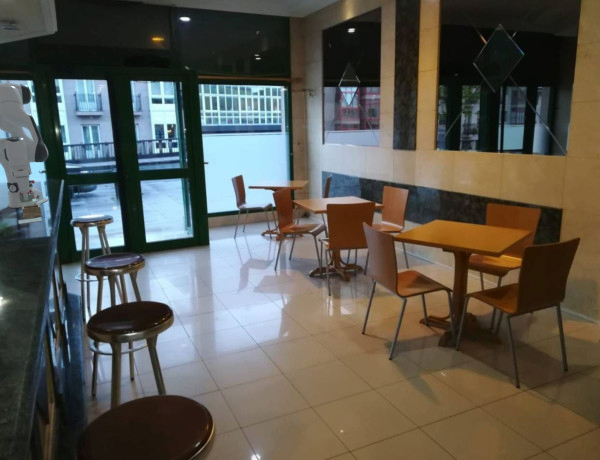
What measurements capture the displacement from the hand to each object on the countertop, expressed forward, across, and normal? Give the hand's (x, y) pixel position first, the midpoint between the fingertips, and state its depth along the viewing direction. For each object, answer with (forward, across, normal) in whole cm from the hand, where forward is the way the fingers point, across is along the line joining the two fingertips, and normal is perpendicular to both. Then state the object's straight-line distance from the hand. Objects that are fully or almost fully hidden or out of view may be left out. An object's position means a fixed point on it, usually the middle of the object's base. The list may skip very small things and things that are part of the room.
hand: (26, 199), depth 231 cm
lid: (+2, 0, 0) cm, 2 cm away
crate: (+11, -12, +1) cm, 16 cm away
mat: (+11, 0, 0) cm, 11 cm away
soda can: (+11, -28, +1) cm, 30 cm away
